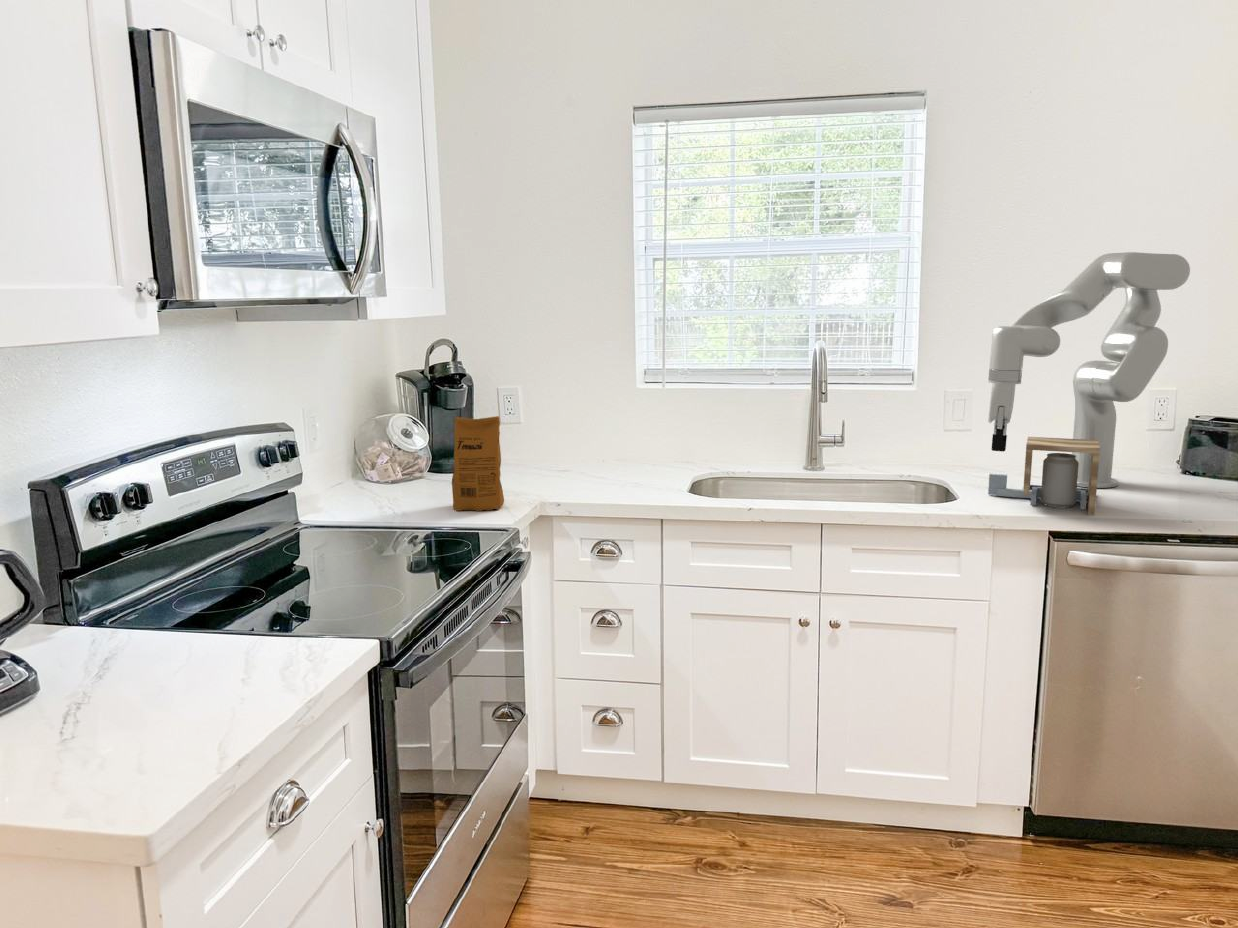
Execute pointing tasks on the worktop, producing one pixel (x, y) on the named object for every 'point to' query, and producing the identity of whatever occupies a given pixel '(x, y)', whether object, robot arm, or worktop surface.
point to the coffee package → (477, 465)
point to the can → (1059, 480)
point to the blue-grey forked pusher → (1000, 483)
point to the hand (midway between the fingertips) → (998, 450)
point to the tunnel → (1065, 446)
